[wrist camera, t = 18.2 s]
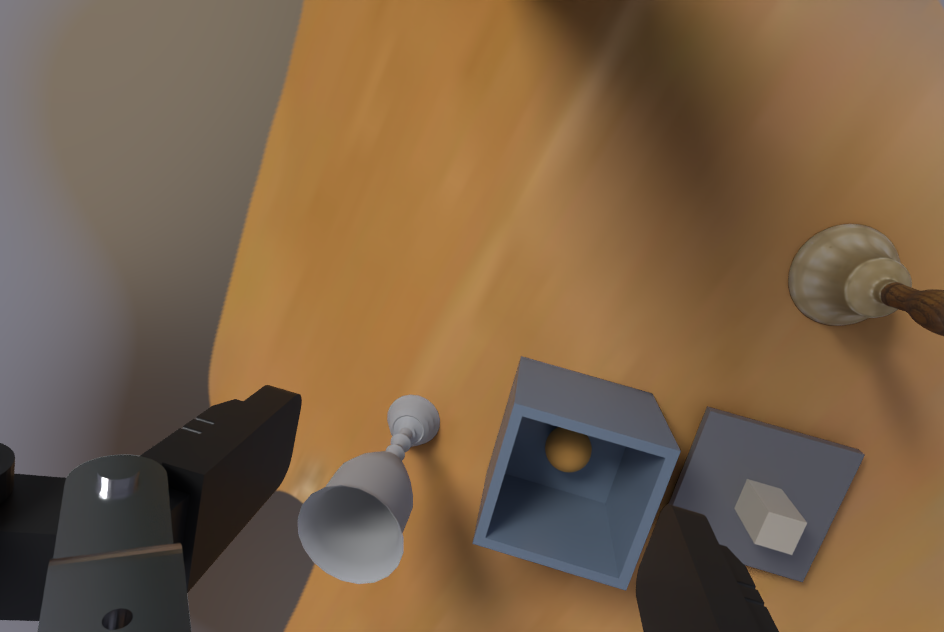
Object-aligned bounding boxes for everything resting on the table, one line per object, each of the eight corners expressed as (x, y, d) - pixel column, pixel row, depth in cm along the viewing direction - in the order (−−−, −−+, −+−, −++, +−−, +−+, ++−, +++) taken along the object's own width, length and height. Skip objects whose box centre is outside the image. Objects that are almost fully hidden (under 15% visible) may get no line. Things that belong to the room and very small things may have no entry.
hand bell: (850, 343, 47) (997, 424, 32) (766, 291, 47) (872, 346, 32) (922, 258, 45) (1117, 301, 30) (833, 203, 45) (983, 217, 30)
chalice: (465, 428, 53) (426, 549, 36) (412, 468, 55) (350, 601, 38) (414, 369, 53) (349, 464, 35) (362, 411, 54) (275, 521, 37)
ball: (551, 412, 51) (553, 432, 47) (595, 424, 51) (600, 445, 47) (539, 450, 52) (539, 474, 48) (581, 463, 52) (585, 487, 48)
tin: (520, 356, 51) (514, 403, 40) (652, 393, 50) (680, 451, 40) (486, 471, 54) (472, 543, 44) (610, 508, 53) (626, 590, 43)
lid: (703, 401, 50) (728, 436, 43) (851, 443, 50) (900, 486, 43) (654, 524, 54) (670, 576, 47) (792, 565, 53) (829, 624, 46)
